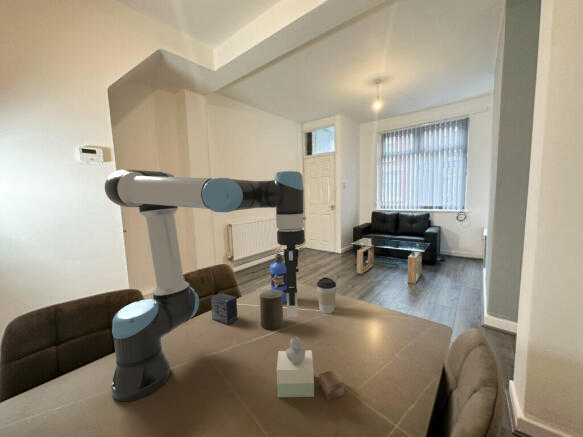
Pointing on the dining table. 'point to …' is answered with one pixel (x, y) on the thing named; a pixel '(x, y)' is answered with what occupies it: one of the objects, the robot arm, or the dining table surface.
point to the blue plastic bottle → (278, 276)
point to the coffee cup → (326, 294)
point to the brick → (331, 384)
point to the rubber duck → (295, 351)
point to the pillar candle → (271, 309)
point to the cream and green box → (295, 376)
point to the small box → (224, 308)
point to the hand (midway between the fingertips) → (292, 304)
